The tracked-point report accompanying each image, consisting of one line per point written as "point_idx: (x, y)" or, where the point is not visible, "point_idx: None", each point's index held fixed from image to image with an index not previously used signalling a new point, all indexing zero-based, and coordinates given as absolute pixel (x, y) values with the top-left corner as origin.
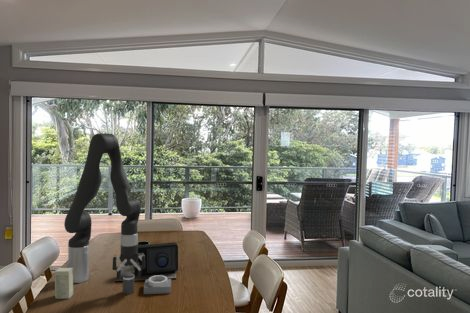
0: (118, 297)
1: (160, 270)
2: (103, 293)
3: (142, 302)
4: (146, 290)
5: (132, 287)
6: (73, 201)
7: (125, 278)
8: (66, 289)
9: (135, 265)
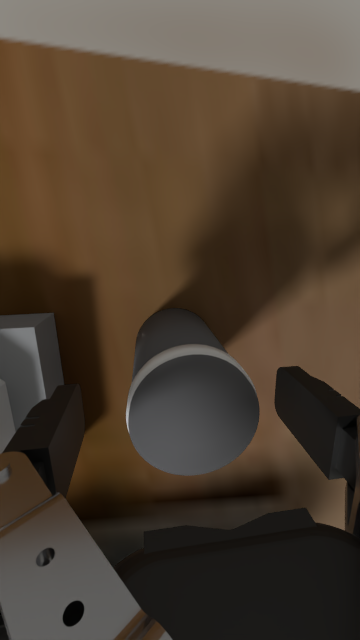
0: (229, 266)
1: (3, 634)
2: (333, 330)
3: (24, 164)
4: (18, 321)
5: (141, 341)
6: None
7: (220, 354)
8: None
9: (51, 531)
